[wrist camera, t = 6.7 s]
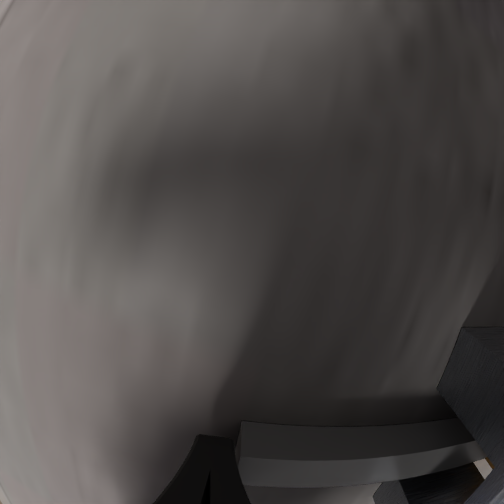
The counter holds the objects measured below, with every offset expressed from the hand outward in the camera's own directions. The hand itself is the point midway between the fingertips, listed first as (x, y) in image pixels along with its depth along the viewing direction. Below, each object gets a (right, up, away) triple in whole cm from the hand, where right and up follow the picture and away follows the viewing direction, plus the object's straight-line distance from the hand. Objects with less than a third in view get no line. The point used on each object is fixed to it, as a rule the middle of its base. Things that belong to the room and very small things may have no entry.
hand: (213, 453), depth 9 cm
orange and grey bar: (+9, -1, +1) cm, 10 cm away
